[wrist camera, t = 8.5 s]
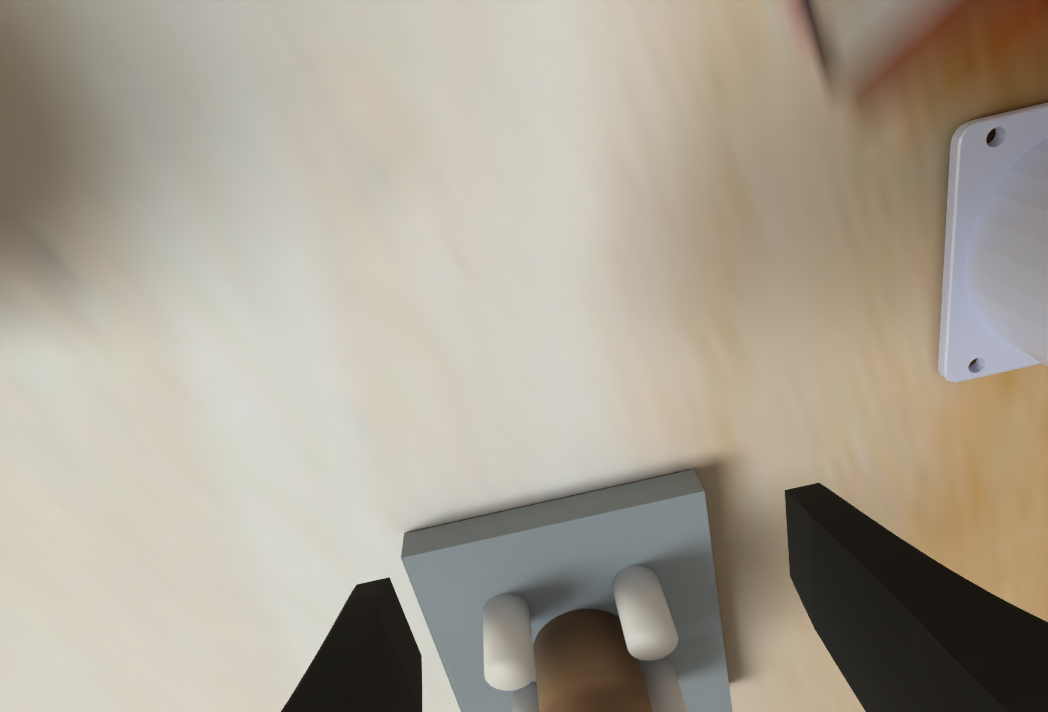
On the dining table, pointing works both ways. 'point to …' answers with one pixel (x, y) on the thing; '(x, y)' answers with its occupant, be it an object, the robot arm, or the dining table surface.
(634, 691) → the walnut pin
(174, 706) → the dining table surface
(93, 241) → the dining table surface
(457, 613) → the peg pad
